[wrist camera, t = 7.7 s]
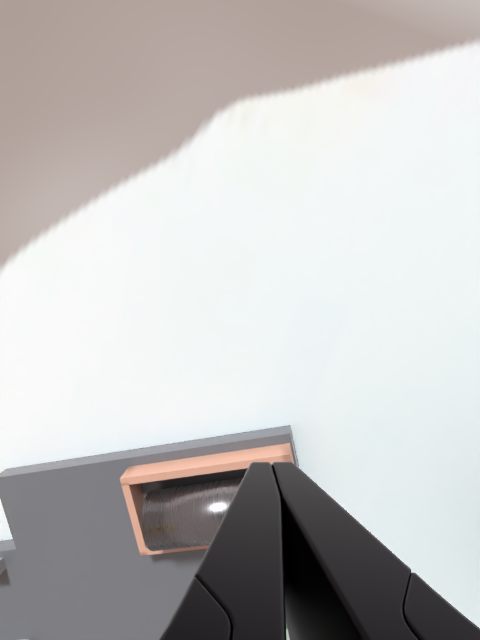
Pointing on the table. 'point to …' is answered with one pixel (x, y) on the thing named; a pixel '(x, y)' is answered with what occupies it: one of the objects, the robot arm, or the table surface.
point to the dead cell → (185, 514)
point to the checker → (108, 537)
